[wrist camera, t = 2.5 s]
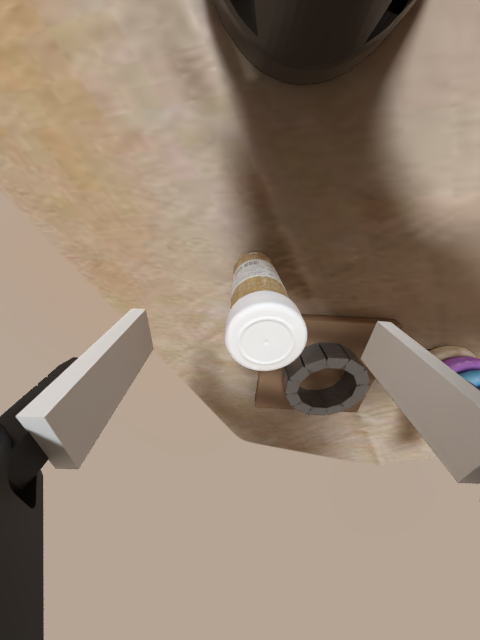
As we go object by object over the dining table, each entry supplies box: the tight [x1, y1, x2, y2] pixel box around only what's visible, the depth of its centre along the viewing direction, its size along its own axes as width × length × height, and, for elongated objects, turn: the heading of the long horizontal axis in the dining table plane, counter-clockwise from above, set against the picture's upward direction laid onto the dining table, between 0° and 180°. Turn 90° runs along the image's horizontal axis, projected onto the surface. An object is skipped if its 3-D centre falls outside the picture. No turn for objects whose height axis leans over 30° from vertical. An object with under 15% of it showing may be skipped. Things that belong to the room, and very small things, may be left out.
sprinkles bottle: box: [225, 252, 307, 371], centre depth 17 cm, size 5×5×13 cm
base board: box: [255, 314, 402, 412], centre depth 28 cm, size 16×16×2 cm
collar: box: [281, 342, 370, 415], centre depth 26 cm, size 10×10×3 cm
